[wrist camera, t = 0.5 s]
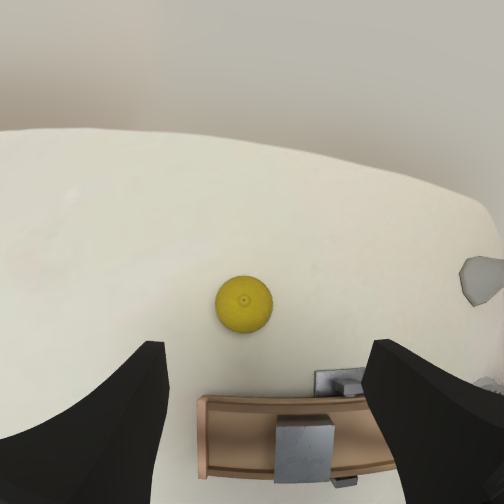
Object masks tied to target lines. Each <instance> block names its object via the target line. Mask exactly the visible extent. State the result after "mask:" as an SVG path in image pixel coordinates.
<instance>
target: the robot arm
mask: <svg viewBox="0 0 504 504" xmlns="http://www.w3.org/2000/svg"><path fill="white" fill-rule="evenodd" d="M361 386H362V389H363V392H364V396H365V398H366V401H367V404H368V407H369V409H370V411H371V413H372V415H373V417H374V419H375V421H376V423H377V425H378V427H379V429H380V431H381V433H382V435H383V437H384V439H385V441H386V443H387V445H388V447H389V449H390V451H391V454H392V456H393V458H394V461H395V464H396V467H397V471H398V474H399V477H400V480H401V484H402V488H403V492H404V496H405V500H406V504H504V395H501V394H498V393H495V392H491V391H488V390H485V389H483V388H480V387H478V386H475V385H473V384H470V383H468V382H466V381H463V380H461V379H459V378H457V377H455V376H453V375H451V374H449V373H448V372H446V371H444V370H442V369H440V368H438V367H437V366H435V365H433V364H431V363H430V362H428V361H426V360H425V359H423V358H421V357H420V356H418V355H416V354H415V353H413V352H411V351H410V350H408V349H406V348H405V347H403V346H401V345H400V344H398V343H396V342H394V341H392V340H390V339H382V340H374V343H373V346H372V350H371V353H370V356H369V359H368V363H367V366H366V369H365V372H364V375H363V378H362V381H361ZM169 389H170V386H169V379H168V371H167V363H166V354H165V345H164V342H156V341H146V342H144V343H143V344H142V345H141V346H140V347H139V348H138V349H137V350H136V351H135V352H134V353H133V354H132V355H131V356H130V357H129V358H128V359H127V360H126V361H125V362H124V363H123V364H122V365H121V366H120V367H119V368H118V369H117V370H116V371H115V372H114V373H113V374H112V375H111V376H110V377H109V378H108V379H106V380H105V381H104V382H103V383H102V384H101V385H99V386H98V387H97V388H96V389H95V390H94V391H92V392H91V393H90V394H89V395H87V396H86V397H85V398H83V399H82V400H80V401H79V402H78V403H76V404H75V405H73V406H72V407H70V408H69V409H67V410H65V411H64V412H62V413H60V414H58V415H56V416H55V417H53V418H51V419H49V420H47V421H45V422H44V423H42V424H40V425H37V426H35V427H33V428H31V429H28V430H26V431H23V432H21V433H18V434H16V435H13V436H10V437H7V438H3V439H0V504H150V496H151V485H152V475H153V469H154V464H155V460H156V455H157V451H158V447H159V443H160V439H161V435H162V430H163V426H164V422H165V418H166V414H167V407H168V398H169Z"/></svg>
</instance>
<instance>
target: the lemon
mask: <svg viewBox="0 0 504 504" xmlns="http://www.w3.org/2000/svg"><path fill="white" fill-rule="evenodd" d="M215 309H216V312H217V316H218V318H219V319H220V321H221V322H222V323H223V324H224V325H225V326H226V327H227V328H228V329H230V330H232V331H234V332H238V333H250V332H254V331H256V330H258V329H260V328H261V327H263V326H264V325H265V324H266V323H267V321H268V320H269V318H270V316H271V313H272V309H273V301H272V296H271V293H270V291H269V289H268V288H267V287H266V285H265V284H264V283H262V282H261V281H260V280H258V279H256V278H254V277H250V276H237V277H235V278H232V279H230V280H228V281H227V282H225V283H224V284H223V286H222V287H221V288H220V290H219V291H218V293H217V296H216V301H215Z"/></svg>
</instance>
